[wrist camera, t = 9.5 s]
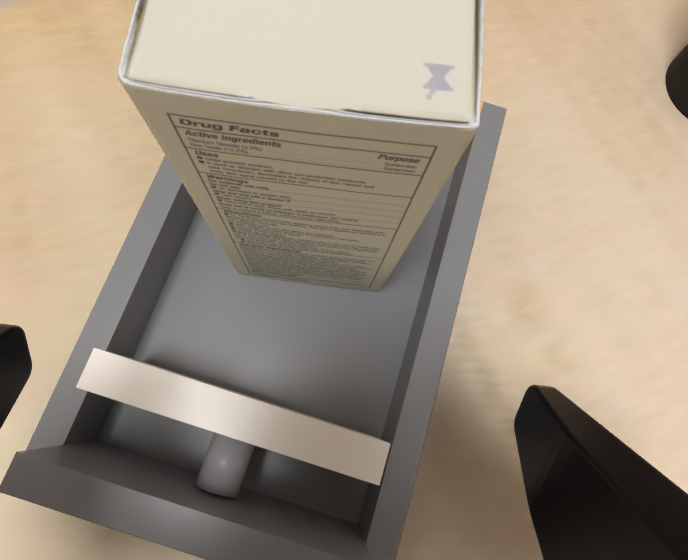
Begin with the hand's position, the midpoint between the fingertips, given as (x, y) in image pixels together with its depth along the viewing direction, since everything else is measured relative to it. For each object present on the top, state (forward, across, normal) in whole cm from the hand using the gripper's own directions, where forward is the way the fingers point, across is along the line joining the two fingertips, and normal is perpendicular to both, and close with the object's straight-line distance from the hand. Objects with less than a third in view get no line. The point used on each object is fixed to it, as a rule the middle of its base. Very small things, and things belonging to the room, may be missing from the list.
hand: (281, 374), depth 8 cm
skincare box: (+12, 0, +3) cm, 12 cm away
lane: (+11, 0, +5) cm, 12 cm away
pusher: (+6, +2, +8) cm, 10 cm away
